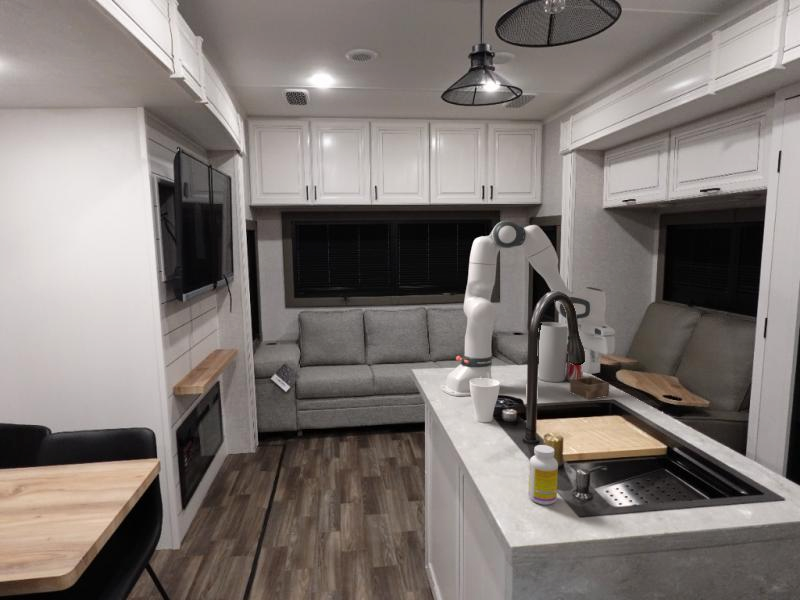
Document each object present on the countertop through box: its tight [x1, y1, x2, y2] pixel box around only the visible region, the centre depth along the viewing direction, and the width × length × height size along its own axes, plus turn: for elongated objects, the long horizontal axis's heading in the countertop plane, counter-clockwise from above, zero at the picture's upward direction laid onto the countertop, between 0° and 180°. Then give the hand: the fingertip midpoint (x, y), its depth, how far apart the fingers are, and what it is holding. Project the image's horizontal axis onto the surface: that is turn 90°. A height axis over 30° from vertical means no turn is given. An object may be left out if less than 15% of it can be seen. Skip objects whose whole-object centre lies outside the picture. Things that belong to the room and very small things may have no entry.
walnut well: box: [569, 376, 610, 400], centre depth 205 cm, size 11×10×6 cm
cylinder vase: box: [538, 321, 569, 383], centre depth 226 cm, size 12×12×25 cm
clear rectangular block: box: [581, 347, 602, 375], centre depth 203 cm, size 6×4×10 cm, turn 114°
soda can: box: [565, 360, 584, 382], centre depth 224 cm, size 7×7×13 cm
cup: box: [470, 378, 501, 423], centre depth 175 cm, size 10×10×14 cm
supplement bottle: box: [528, 444, 559, 506], centre depth 122 cm, size 7×7×13 cm
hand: (590, 361), depth 203 cm, fingers closed on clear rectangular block, 4 cm apart
